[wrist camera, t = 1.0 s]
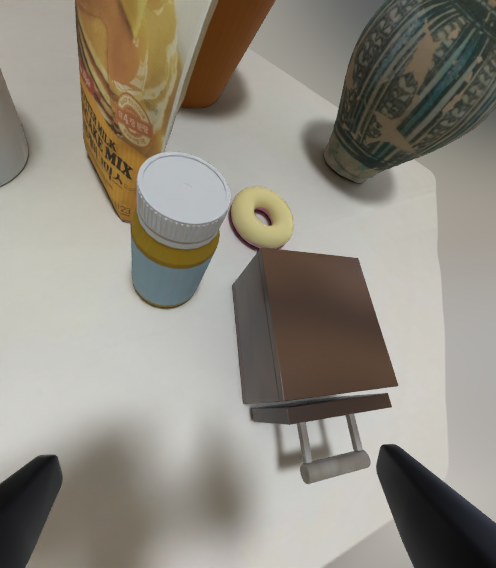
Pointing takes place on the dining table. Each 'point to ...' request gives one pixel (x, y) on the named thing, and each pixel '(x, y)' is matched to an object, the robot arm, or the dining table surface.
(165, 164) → the bottle
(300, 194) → the dining table surface
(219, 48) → the flower pot
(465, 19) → the vase
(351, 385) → the cabinet
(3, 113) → the utensil holder
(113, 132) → the pancake mix bag
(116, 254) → the dining table surface
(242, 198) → the donut
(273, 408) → the drawer
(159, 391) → the dining table surface
